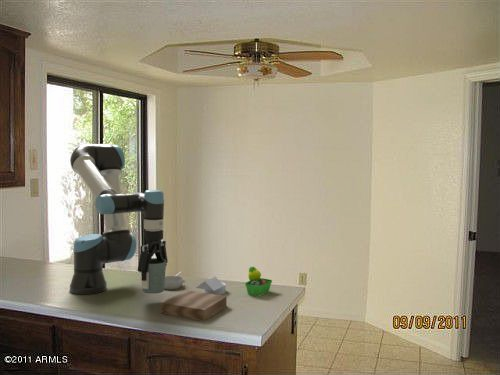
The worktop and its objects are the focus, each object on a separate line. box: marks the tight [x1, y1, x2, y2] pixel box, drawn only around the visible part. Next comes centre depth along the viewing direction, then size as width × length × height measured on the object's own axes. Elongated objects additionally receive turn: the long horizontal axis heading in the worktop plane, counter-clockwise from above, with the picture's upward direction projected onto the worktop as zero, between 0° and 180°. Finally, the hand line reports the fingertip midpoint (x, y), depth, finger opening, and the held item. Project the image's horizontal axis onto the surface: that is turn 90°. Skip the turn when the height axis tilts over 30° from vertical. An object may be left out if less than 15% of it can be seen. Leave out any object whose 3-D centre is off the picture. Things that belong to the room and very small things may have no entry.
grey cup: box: [140, 257, 167, 295], centre depth 187 cm, size 10×10×12 cm
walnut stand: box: [161, 289, 228, 322], centre depth 180 cm, size 18×18×4 cm
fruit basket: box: [244, 266, 273, 297], centre depth 203 cm, size 11×9×11 cm
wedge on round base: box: [195, 276, 227, 295], centre depth 201 cm, size 9×7×13 cm
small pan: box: [164, 271, 184, 290], centre depth 214 cm, size 11×18×4 cm, turn 169°
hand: (153, 284), depth 187 cm, fingers closed on grey cup, 9 cm apart
